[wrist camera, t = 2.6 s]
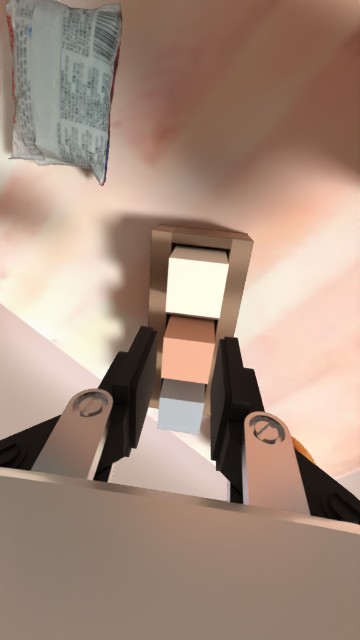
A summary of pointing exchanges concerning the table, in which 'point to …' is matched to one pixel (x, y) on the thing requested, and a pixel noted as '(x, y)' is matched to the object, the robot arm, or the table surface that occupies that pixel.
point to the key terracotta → (188, 349)
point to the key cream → (196, 281)
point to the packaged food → (63, 82)
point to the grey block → (181, 406)
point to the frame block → (161, 250)
